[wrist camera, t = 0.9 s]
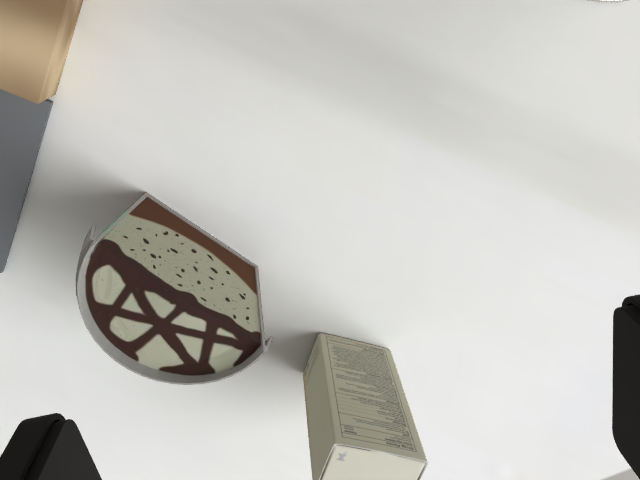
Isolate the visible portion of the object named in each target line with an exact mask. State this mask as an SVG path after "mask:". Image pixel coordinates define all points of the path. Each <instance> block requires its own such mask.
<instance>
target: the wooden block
mask: <svg viewBox="0 0 640 480" xmlns="http://www.w3.org/2000/svg"><path fill="white" fill-rule="evenodd" d="M82 2H83V0H0V89H2V90H5V91H7V92H9V93H12V94H14V95H17V96H19V97H22V98H24V99H26V100H29V101H31V102H34V103H36V104H39V103H41V102H43V101H44V100H46V99H48V98H50V97H52V96H53V95H55V94H56V91H57V87H58V84H59V80H60V77H61V73H62V70H63V67H64V63H65V60H66V56H67V53H68V50H69V46H70V43H71V39H72V36H73V32H74V29H75V26H76V22H77V19H78V15H79V12H80V9H81V5H82Z"/></svg>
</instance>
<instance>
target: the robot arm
mask: <svg viewBox="0 0 640 480" xmlns="http://www.w3.org/2000/svg"><path fill="white" fill-rule="evenodd" d="M589 1H596V2H622V1H627V0H589ZM612 429H613V436H614V440H615V442H616V445H617V447H618V449H619V451H620V452H621V454H622V455H623V457H624V458H625V459H626V461H627V462H628V464H629V465H630V466H631V468H632V469H633V471H634V472H635V473H636V475H637V476H638V477H639V479H640V295H635V296H630V297H627V298H625V299H624V301H623V303H622V307H619V308H617V309H615V311H614V315H613V417H612ZM0 480H102V479H101V477H100V474H99V472H98V470H97V468H96V466H95V464H94V462H93V459H92V457H91V455H90V453H89V451H88V449H87V447H86V444H85V442H84V440H83V438H82V436H81V434H80V432H79V429H78V427H77V425H76V424H75V422H74V421H73V420H70V419H68V420H65V418H64V417H63V416H62V415H61V414H58V413H54V414H50V415H45V416H40V417H35V418H30V419H26V420H23V421H22V422H21V423H20V424H19V425H18V427H17V429H16V431H15V432H14V434H13V436H12V438H11V439H10V441H9V443H8V445H7V446H6V448H5V450H4V452H3V453H2V455H1V457H0Z"/></svg>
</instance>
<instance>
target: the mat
mask: <svg viewBox="0 0 640 480" xmlns="http://www.w3.org/2000/svg"><path fill="white" fill-rule="evenodd" d="M52 104H53V101H50V100H48V99H46V100H44V101H43V102H41V103H39V104H36V103H34V102H31V101H29V100H26V99H24V98H22V97H19V96H17V95H14V94H12V93H9V92H7V91H5V90H2V89H0V273H2V272H3V271H4V268H5V265H6V261H7V258H8V255H9V251H10V248H11V244H12V241H13V237H14V234H15V231H16V227H17V224H18V220H19V217H20V214H21V210H22V207H23V203H24V200H25V196H26V193H27V190H28V186H29V183H30V179H31V176H32V173H33V169H34V166H35V162H36V159H37V155H38V152H39V149H40V145H41V142H42V138H43V135H44V132H45V128H46V125H47V121H48V118H49V114H50V111H51V108H52Z"/></svg>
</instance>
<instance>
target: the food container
mask: <svg viewBox="0 0 640 480" xmlns="http://www.w3.org/2000/svg"><path fill="white" fill-rule="evenodd" d="M94 232H95V226H94V225H92V227H91V229H90V231H89V233H88V234H87V236H86V238H85V241H84V244H83V247H82V250H81V253H80V257H79V262H78V267H77V274H76V295H77V300H78V304H79V309H80V312H81V315H82V318H83V320H84V323H85V325H86V327H87V329H88V331H89V332H90V334H91V335H92V337H93V339H94V340H95V341H96V342H97V344H98V345H99V346H100V347H101V348H102V349H103V351H104V352H105V353H107V354H108V355H109V356H110V357H111V358H112V359H114V360H115V361H116V362H118V363H119V364H121V365H122V366H124V367H125V368H127V369H128V370H130V371H133V372H135V373H137V374H139V375H141V376H143V377H146V378H150V379H153V380H156V381H160V382H165V383H170V384H183V385H192V384H204V383H210V382H215V381H219V380H222V379H225V378H228V377H231V376H233V375H235V374H237V373H239V372H241V371H243V370H244V369H246V368H247V367H249V366H250V365H252V364H253V363H255V362H256V361H257V360H258V359H259V358H260V357H261V356H262V355H263V354H264V353H265V352H266V351H267V350H268V349H269V347H270V344H271V341H272V339H273V338H272V337H270V338H269V339H268V340H267V341H265V337H264V326H263V316H262V305H261V294H260V284H259V273H258V266H257V265H255V264H254V263H252V262H251V261H249V260H248V259H246V258H245V257H243V256H242V255H240V254H239V253H237V252H236V251H234V250H233V249H231V248H230V247H228V246H227V245H225V244H224V243H222V242H221V241H219V240H218V239H216V238H215V237H213V236H212V235H210V234H209V233H207V232H206V231H204V230H203V229H201V228H200V227H198V226H197V225H195V224H194V223H192V222H191V221H189V220H188V219H186V218H185V217H183V216H182V215H180V214H179V213H177V212H176V211H174V210H172V209H171V208H169V207H168V206H166V205H165V204H163V203H162V202H160V201H159V200H157V199H156V198H154V197H153V196H151V195H150V194H148V193H147V192H146V193H145V194H144V195H142V196H141V197H140V198H139V199H138V200H137V201H136V202H135V203H134V204H133V205H132V206H131V207H130V208H129V209H127V210H126V211H125V212H124V213H123V214H122V215H121V216H120V217H119V218H118V219H117V220H116V221H115V222H114V223H112V224H111V225H110V226H109V227H108V228H107V229H106V230H105V231H104V232H103V233H102V234H101V235H100V236H98V237H97V238H96V239H94V238H93V237H94Z"/></svg>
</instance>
